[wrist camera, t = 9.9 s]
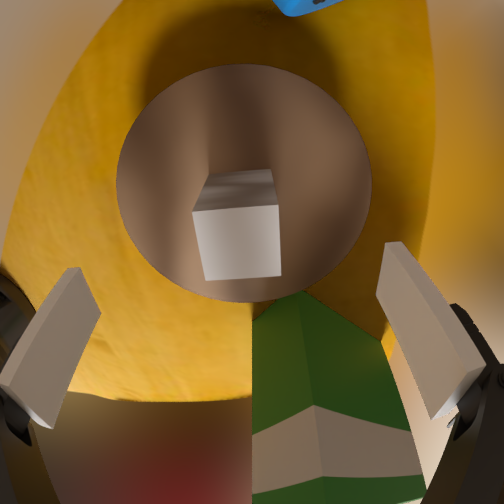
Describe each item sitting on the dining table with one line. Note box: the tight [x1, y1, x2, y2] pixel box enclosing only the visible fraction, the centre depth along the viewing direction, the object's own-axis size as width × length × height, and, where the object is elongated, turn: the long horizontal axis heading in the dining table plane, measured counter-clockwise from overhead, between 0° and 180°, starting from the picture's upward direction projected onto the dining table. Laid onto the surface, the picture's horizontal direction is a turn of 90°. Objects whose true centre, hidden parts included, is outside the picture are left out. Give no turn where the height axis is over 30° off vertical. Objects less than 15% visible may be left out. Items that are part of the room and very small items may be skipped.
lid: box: [116, 64, 372, 303], centre depth 18 cm, size 18×18×7 cm
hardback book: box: [252, 290, 427, 504], centre depth 27 cm, size 18×7×24 cm, turn 52°
